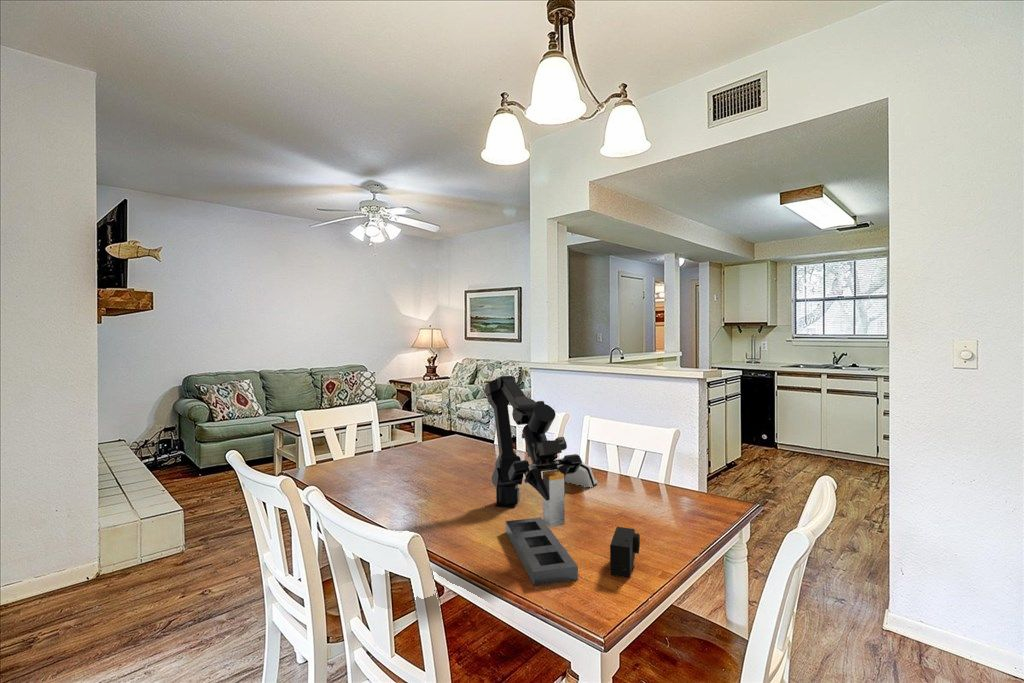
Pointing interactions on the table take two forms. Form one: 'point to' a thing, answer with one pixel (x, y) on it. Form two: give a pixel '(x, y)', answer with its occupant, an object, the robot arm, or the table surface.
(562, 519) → the grey square peg
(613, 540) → the digital camera
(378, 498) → the table surface
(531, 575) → the gray slotted board
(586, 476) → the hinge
